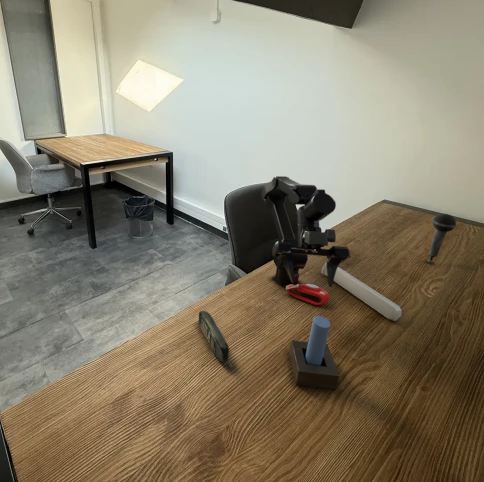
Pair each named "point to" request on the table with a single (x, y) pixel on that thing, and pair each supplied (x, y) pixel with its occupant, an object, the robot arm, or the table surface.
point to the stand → (312, 367)
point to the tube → (366, 294)
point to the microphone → (440, 232)
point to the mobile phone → (214, 336)
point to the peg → (317, 341)
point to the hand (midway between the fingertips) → (311, 284)
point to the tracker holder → (309, 290)
